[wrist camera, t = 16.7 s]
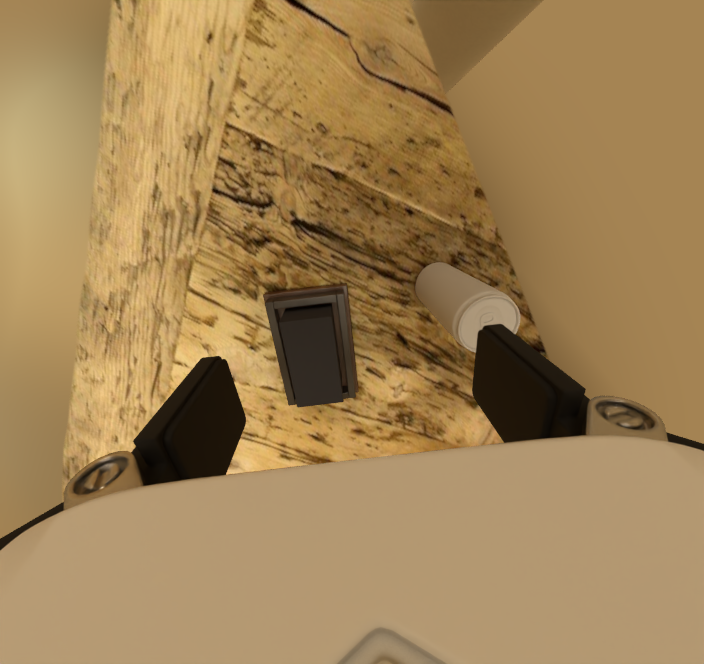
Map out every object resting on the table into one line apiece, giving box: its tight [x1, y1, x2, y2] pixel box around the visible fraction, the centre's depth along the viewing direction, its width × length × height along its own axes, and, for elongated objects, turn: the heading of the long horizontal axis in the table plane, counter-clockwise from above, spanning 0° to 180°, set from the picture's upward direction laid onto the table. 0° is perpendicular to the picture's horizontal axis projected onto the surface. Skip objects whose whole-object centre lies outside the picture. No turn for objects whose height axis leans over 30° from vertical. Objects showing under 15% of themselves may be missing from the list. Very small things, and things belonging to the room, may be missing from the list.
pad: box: [279, 303, 343, 407], centre depth 31 cm, size 10×5×4 cm, turn 6°
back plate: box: [263, 283, 358, 405], centre depth 33 cm, size 14×9×2 cm, turn 6°
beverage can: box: [415, 262, 520, 352], centre depth 26 cm, size 5×5×12 cm
